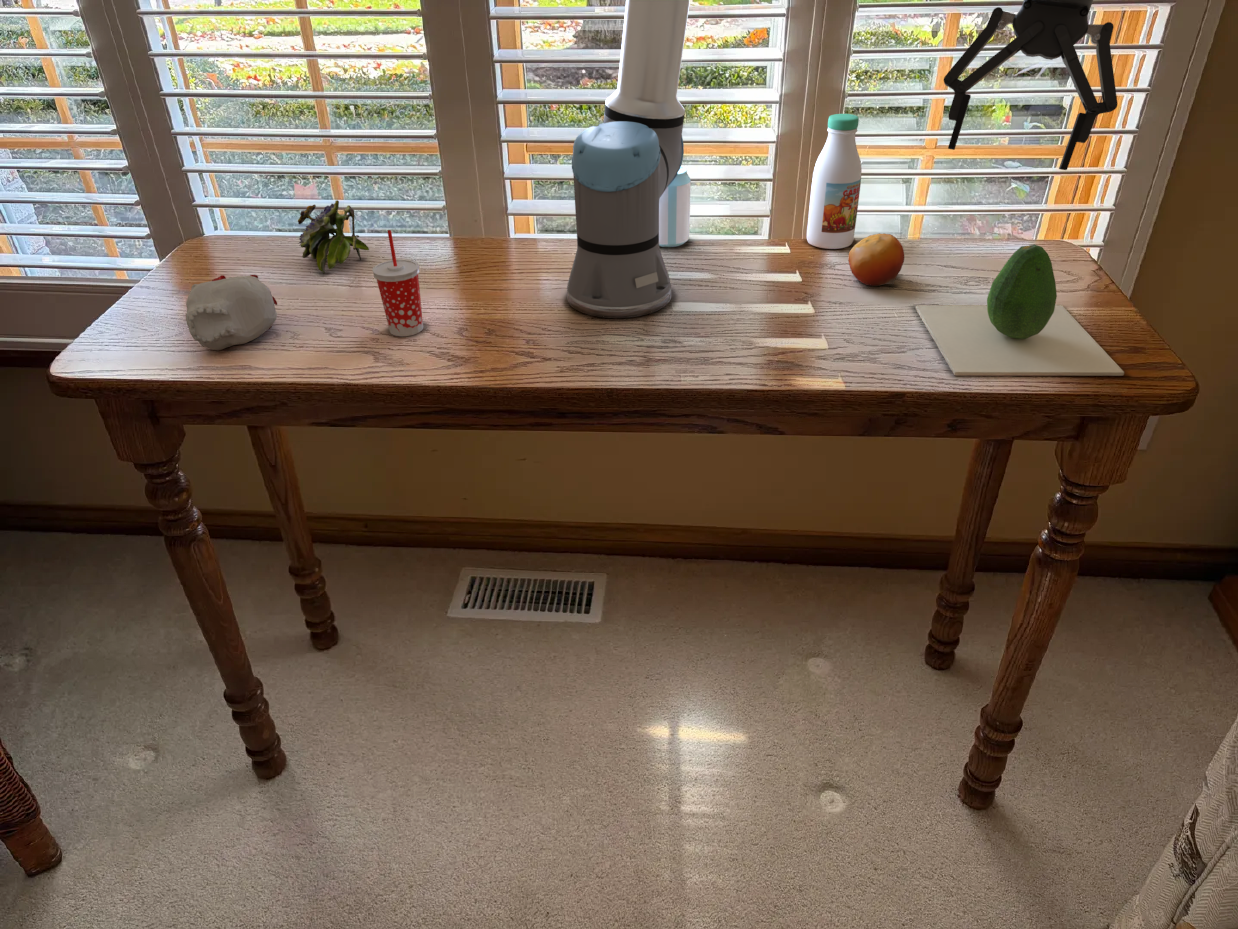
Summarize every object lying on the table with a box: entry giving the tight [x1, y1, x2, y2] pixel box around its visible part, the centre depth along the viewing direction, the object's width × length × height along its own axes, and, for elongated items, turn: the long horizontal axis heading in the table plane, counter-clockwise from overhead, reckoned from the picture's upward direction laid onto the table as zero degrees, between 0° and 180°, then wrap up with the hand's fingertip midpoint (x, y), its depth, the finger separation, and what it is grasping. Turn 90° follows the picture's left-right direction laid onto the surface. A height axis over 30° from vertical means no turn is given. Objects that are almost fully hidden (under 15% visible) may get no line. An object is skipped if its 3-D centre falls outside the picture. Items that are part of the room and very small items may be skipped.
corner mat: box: [915, 304, 1125, 377], centre depth 113 cm, size 20×20×1 cm
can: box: [659, 165, 692, 248], centre depth 143 cm, size 7×7×12 cm
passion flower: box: [297, 199, 370, 275], centre depth 140 cm, size 11×11×12 cm
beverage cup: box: [371, 229, 424, 337], centre depth 116 cm, size 6×6×14 cm
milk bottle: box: [806, 113, 862, 250], centre depth 139 cm, size 8×8×20 cm
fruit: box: [847, 233, 905, 287], centre depth 129 cm, size 8×8×8 cm
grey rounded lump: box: [185, 274, 278, 351], centre depth 117 cm, size 9×11×15 cm
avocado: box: [986, 244, 1058, 339], centre depth 109 cm, size 8×8×12 cm
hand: (1005, 159), depth 109 cm, fingers open, 13 cm apart
